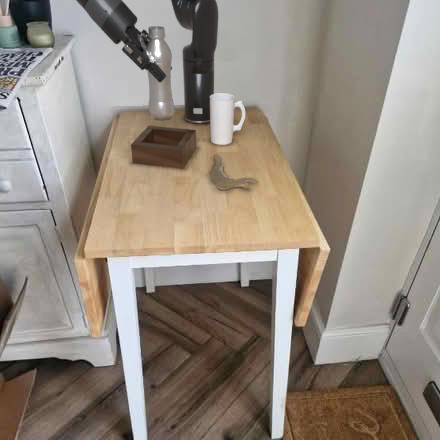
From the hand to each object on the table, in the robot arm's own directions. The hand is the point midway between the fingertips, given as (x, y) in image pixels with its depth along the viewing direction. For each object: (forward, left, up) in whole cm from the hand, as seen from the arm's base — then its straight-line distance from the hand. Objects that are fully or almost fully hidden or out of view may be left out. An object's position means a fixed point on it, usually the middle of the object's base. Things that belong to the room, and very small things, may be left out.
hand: (166, 75), depth 102 cm
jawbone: (+7, +18, -20) cm, 28 cm away
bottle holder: (0, -2, -20) cm, 20 cm away
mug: (-14, +12, -20) cm, 27 cm away
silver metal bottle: (0, -2, -10) cm, 11 cm away
